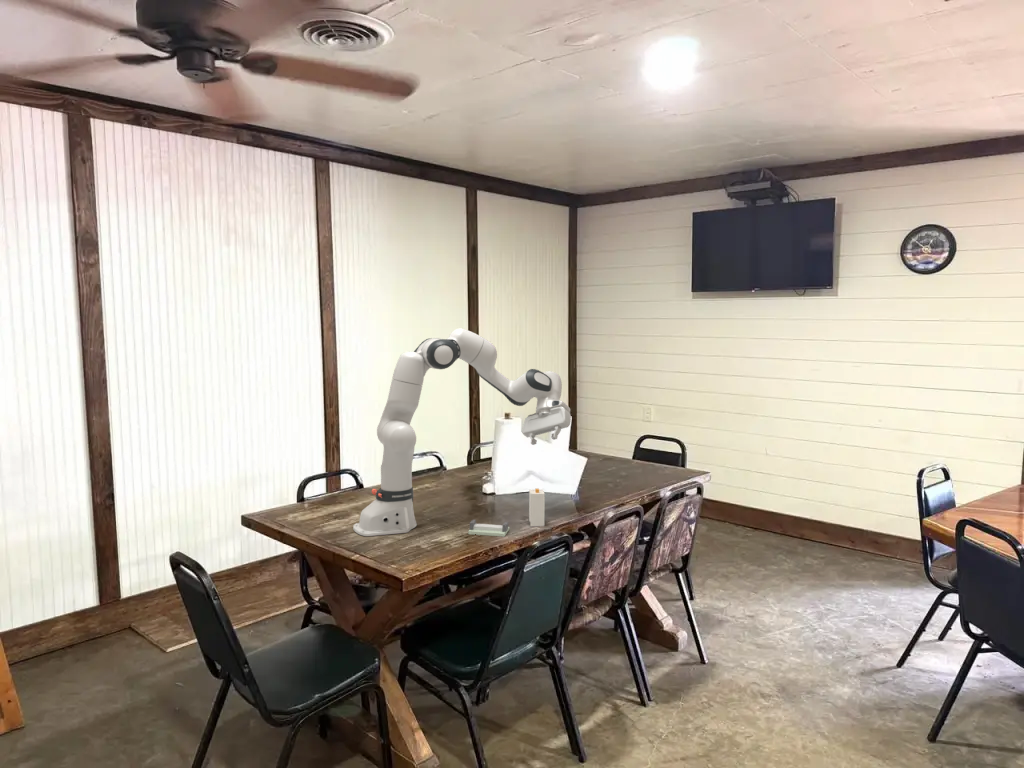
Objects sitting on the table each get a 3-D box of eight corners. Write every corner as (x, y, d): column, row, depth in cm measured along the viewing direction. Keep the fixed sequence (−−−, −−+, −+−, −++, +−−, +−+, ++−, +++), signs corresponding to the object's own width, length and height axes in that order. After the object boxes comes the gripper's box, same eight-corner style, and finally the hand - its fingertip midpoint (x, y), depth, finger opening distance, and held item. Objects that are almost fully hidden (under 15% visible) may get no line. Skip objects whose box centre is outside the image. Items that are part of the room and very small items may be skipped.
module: (529, 521, 259) (529, 486, 257) (542, 521, 259) (542, 486, 258) (530, 526, 252) (530, 490, 251) (544, 526, 253) (544, 490, 251)
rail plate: (474, 527, 251) (474, 518, 250) (509, 529, 248) (509, 520, 248) (468, 534, 243) (468, 524, 242) (504, 536, 240) (504, 527, 240)
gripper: (521, 412, 269) (516, 443, 261) (565, 399, 258) (561, 431, 250) (530, 420, 273) (526, 450, 265) (574, 408, 262) (571, 439, 254)
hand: (543, 441), depth 258 cm, fingers open, 8 cm apart
